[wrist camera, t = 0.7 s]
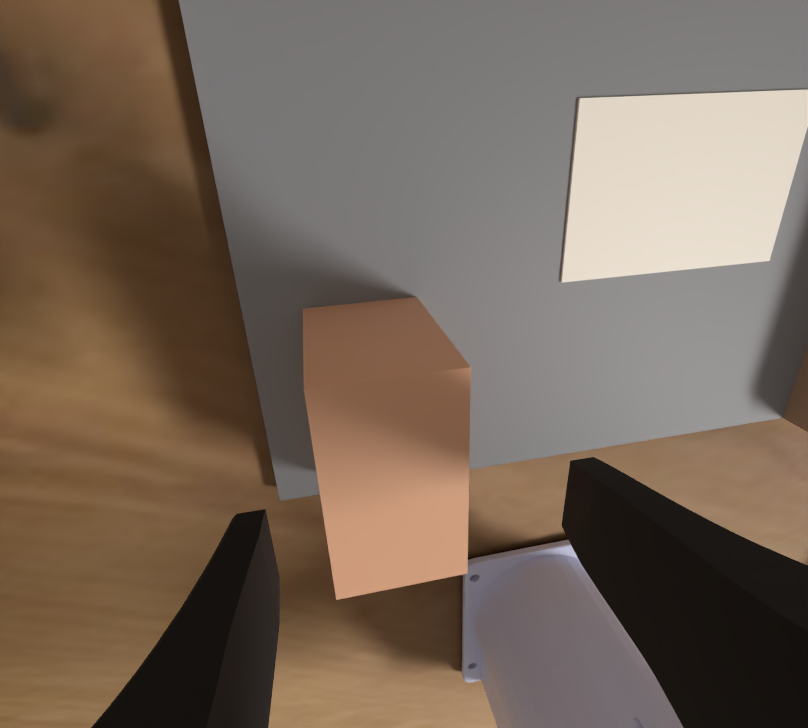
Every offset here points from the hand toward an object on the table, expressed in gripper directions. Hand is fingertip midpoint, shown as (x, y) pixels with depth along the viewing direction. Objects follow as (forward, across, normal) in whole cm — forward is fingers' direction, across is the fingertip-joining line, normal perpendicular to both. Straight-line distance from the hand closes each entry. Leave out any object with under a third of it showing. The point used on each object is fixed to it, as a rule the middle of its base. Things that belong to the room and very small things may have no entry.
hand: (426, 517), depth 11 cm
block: (+8, 0, 0) cm, 8 cm away
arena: (+8, -8, -5) cm, 13 cm away
